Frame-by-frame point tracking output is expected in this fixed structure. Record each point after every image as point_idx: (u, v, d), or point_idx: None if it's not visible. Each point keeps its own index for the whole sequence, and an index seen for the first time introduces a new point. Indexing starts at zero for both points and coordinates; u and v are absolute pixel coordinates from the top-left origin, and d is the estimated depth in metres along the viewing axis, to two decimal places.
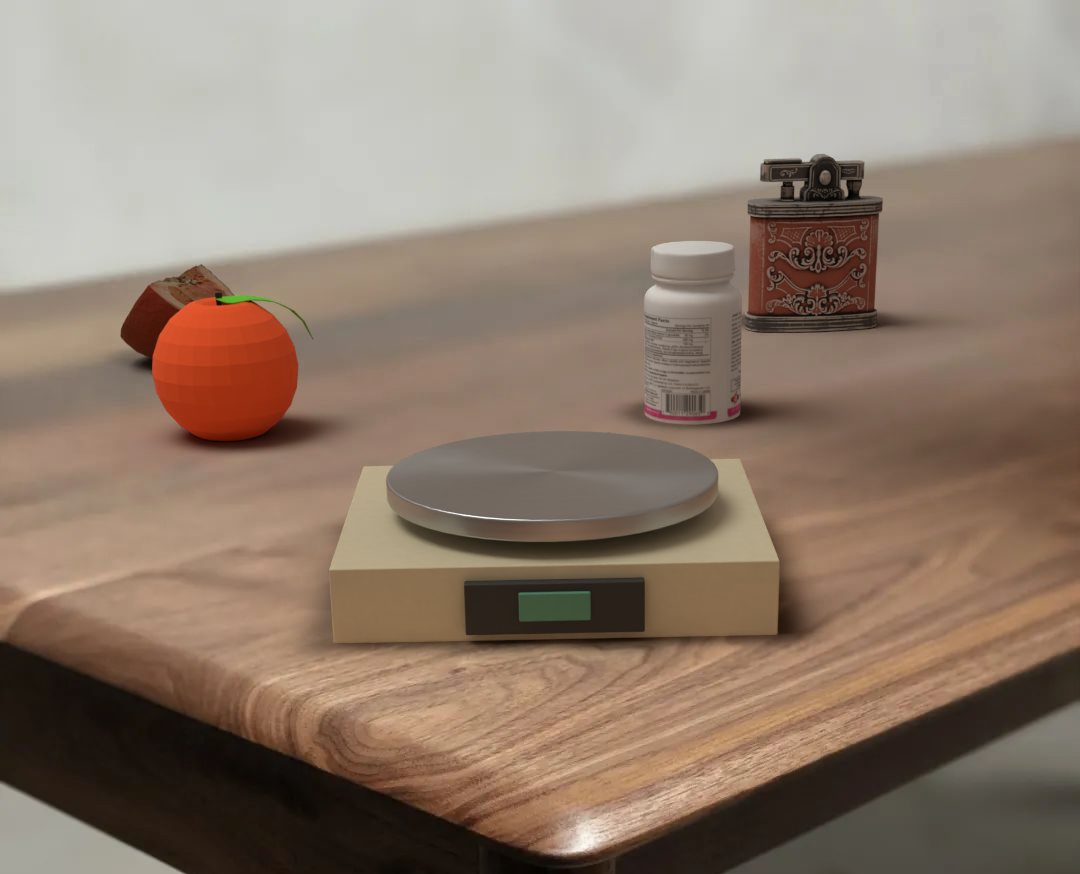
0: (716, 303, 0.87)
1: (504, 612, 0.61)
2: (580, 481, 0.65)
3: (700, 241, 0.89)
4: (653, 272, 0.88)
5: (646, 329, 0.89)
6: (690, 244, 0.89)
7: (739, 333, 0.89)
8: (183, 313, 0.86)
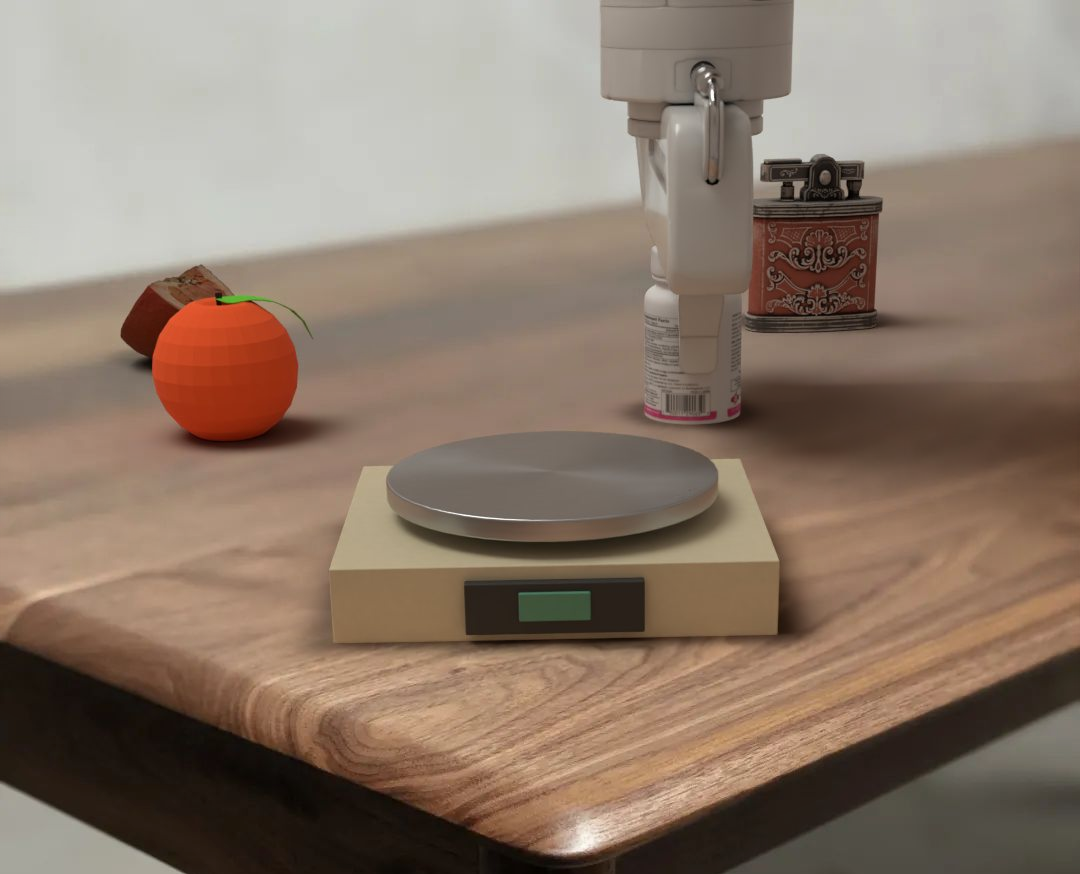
0: None
1: (504, 612, 0.61)
2: (580, 481, 0.65)
3: None
4: (653, 272, 0.88)
5: (646, 329, 0.89)
6: None
7: (739, 333, 0.89)
8: (183, 313, 0.86)
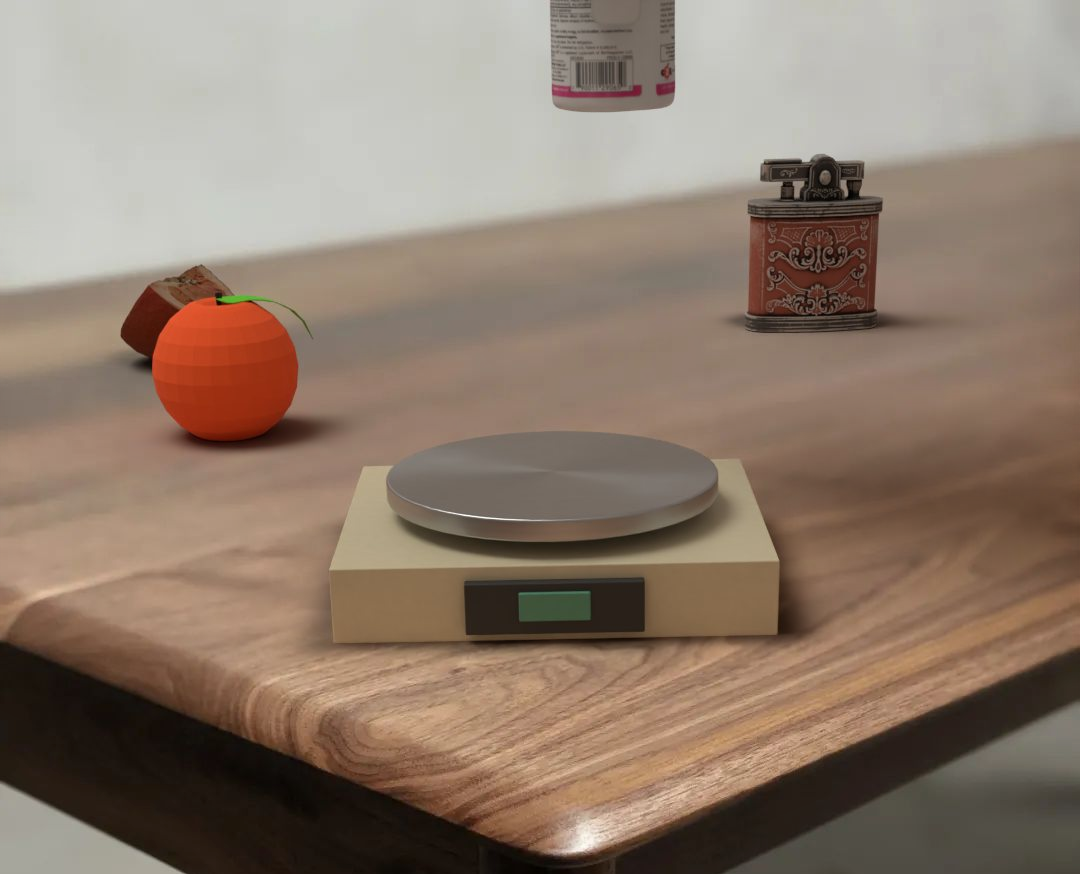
0: None
1: (504, 612, 0.61)
2: (580, 481, 0.65)
3: None
4: None
5: None
6: None
7: None
8: (183, 313, 0.86)
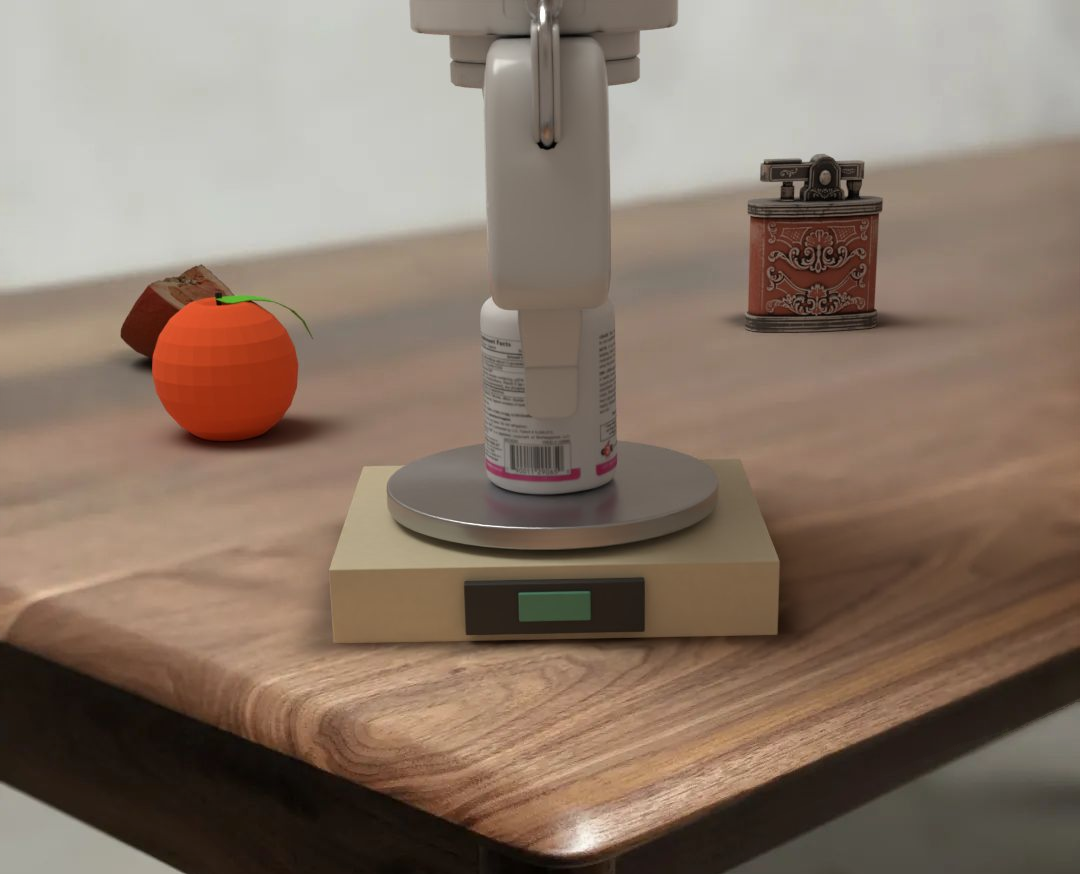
0: None
1: (504, 612, 0.61)
2: None
3: None
4: None
5: (483, 355, 0.64)
6: None
7: (611, 361, 0.64)
8: (183, 313, 0.86)
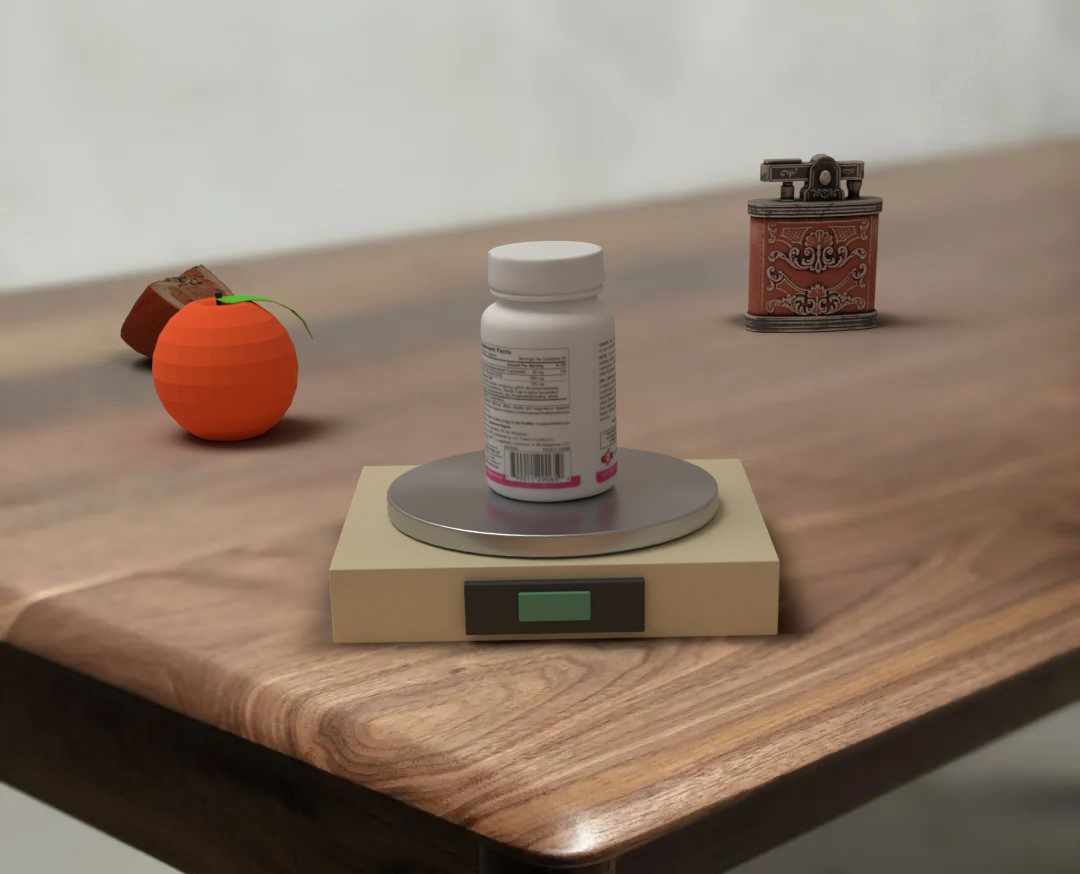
0: (575, 327, 0.62)
1: (504, 612, 0.61)
2: None
3: (559, 241, 0.65)
4: (490, 284, 0.63)
5: (483, 363, 0.64)
6: (543, 245, 0.64)
7: (611, 368, 0.64)
8: (183, 313, 0.86)
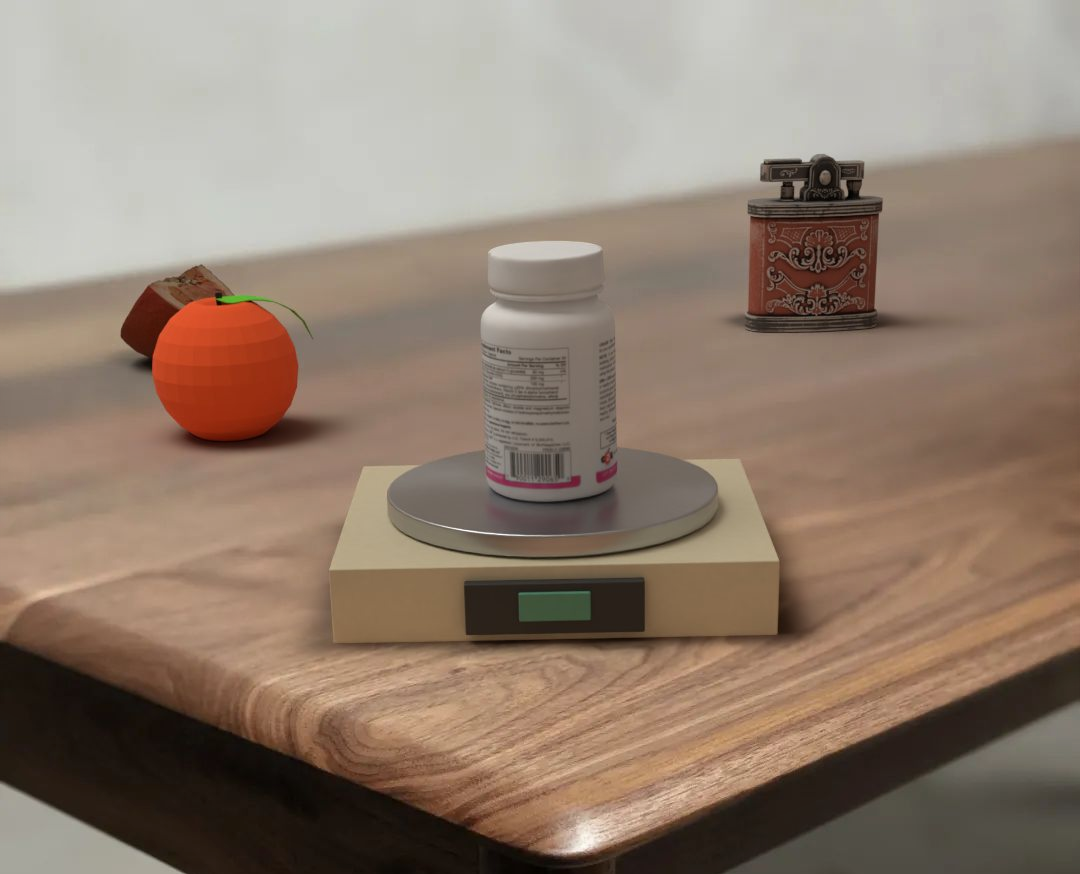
0: (575, 327, 0.62)
1: (504, 612, 0.61)
2: None
3: (559, 241, 0.65)
4: (490, 284, 0.63)
5: (483, 363, 0.64)
6: (543, 245, 0.64)
7: (611, 368, 0.64)
8: (183, 313, 0.86)
